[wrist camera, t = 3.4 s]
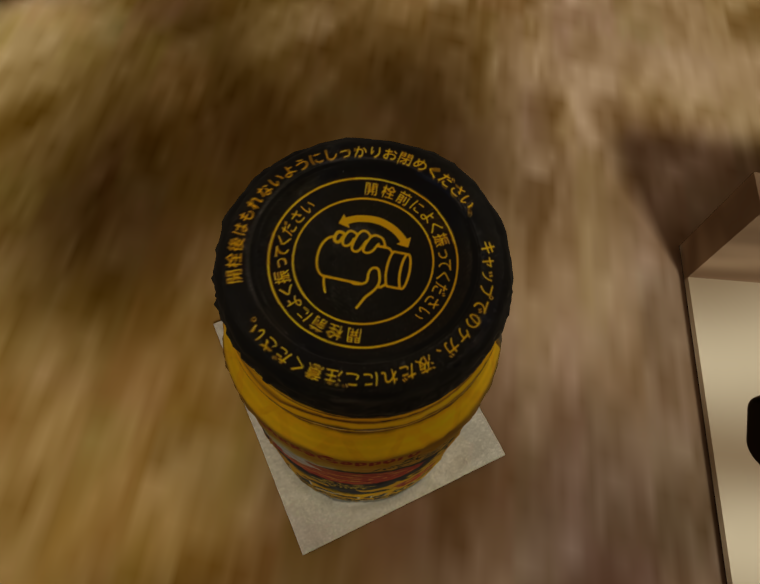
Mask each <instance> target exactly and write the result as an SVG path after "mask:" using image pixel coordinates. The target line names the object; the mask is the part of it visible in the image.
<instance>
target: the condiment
mask: <svg viewBox="0 0 760 584" xmlns="http://www.w3.org/2000/svg"><path fill="white" fill-rule="evenodd" d="M215 251H216V260H215V265H214V270H213V276H212V278H211V279H212V281H213V283H214V285H215V291H216V293H215V297H216V298H217V299H216V301H215V303H214V305H215V307H216V308H217V309H218V310H219V314H220V319H221V321H219V322H217V323H215V324H214V327H215V330H216V332H217V335H218V337H219V340H220V343H221V345H222V348H223V353H224V357H225V364H226V368H227V369H228V371H229V372H230V375H231V378H232V380H233V382H234V385H235V388H236V389H237V391H238V393H239V395H240V397H241V400H242V401H243V402H244V404H245V407H246V409H247V412H248V415H249V417H250V420H251V422H252V425H253V427H254V430H255V432H256V435H257V438H258V440H259V443H260V445H261V448H262V450H263V453H264V456H265V458H266V461H267V463H268V466H269V469H270V471H271V474H272V476H273V479H274V481H275V484H276V487H277V489H278V492H279V494H280V497H281V499H282V502H283V505H284V507H285V510H286V512H287V515H288V517H289V520H290V523H291V525H292V528H293V530H294V533H295V536H296V538H297V541H298V543H299V546H300V549H301V552H302V554H303V555H304V554H306V553H308V552H311V551H313V550H315V549H317V548H319V547H321V546H323V545H325V544H327V543H329V542H331V541H333V540H335V539H337V538H340V537H341V536H343V535H345V534H347V533H349V532H351V531H353V530H355V529H357V528H359V527H361V526H363V525H365V524H367V523H369V522H371V521H373V520H375V519H377V518H379V517H381V516H383V515H386V514H387V513H389V512H392V511H394V510H396V509H398V508H400V507H402V506H404V505H406V504H408V503H410V502H412V501H414V500H416V499H418V498H420V497H422V496H424V495H426V494H428V493H430V492H432V491H434V490H436V489H438V488H440V487H442V486H444V485H446V484H448V483H450V482H452V481H454V480H456V479H458V478H460V477H462V476H463V475H465V474H468V473H470V472H472V471H474V470H476V469H478V468H480V467H482V466H484V465H486V464H488V463H490V462H492V461H494V460H496V459H498V458H500V457H502V456H504V455H505V453H504V451H503V450H502V448H501V446H500V444H499V442H498V440H497V438H496V437H495V435H494V433H493V431H492V429H491V427H490V426H489V424H488V422H487V420H486V418H485V417H484V415H483V413H482V411H481V409H480V408H479V406H480V404H481V401H482V400H483V398H484V396H485V395H486V393H487V392H488V390H489V389H490V387H491V385H492V381H493V377H494V374H495V371H496V368H497V365H498V359H499V355H500V348H501V342H502V336H501V334H502V332H503V329H504V325H505V322H506V319H507V317H508V316H509V311H510V304H511V296H512V293H513V291H512V284H513V271H512V262H511V257H510V251H509V247H508V241H507V234H506V230H505V227H504V225H503V222H502V220H501V218H500V217H499V215H498V213H497V212H496V211H495V209H494V208H493V207H492V206H491V204H490V203H489V201H488V200H487V198H486V197H485V195H484V194H483V192H482V191H481V190H480V188H479V187H478V186H477V184H476V183H475V182H474V181H473V180H472V179H471V178H470V177H469V176H468V175H466V174H465V173H464V172H463V171H462V170H461V169H459V168H458V167H457V166H456V165H455V163H452V162H450V161H448V160H446V159H445V158H443V157H441V156H439V155H438V154H436V153H435V152H431V151H426V150H423V149H421V148H417V147H413V146H408V145H404V144H400V143H397V142H392V141H383V140H372V139H363V138H343V139H338V140H334V141H329V142H325V143H320V144H317V145H315V146H313V147H311V148H307V149H303V150H300V151H296V152H293V153H292V154H290V155H288V156H286V157H285V158H283V159H281V160H280V161H278V162H276V163H275V164H273V165H272V166H271V167H268V168H266V169H264V170H263V171H262V172H261V173H260V174H259V175H257V176H256V177H255V178H254V179H253V180H252V181H251V182H250V184H249V185H248V187H247V188H246V190H245V191H244V192H243V193H242V194H241V196H240V197H239V198H238V199H237V201H236V202H235V204H234V205H233V206H232V207H231V208H230V209H229V211H228V212H227V214H226V215H225V217H224V219H223V221H222V231H221V236H220V240H219V243H218V244H217V247H216V249H215Z"/></svg>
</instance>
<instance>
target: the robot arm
mask: <svg viewBox="0 0 760 584" xmlns="http://www.w3.org/2000/svg"><path fill="white" fill-rule="evenodd" d="M746 443H747V447H748V449H749V452H750V453H751V455H752V457H753V458H754V459H755V460H756V461H757V463H758V464H759V465H760V395H759V396H756V397H754V398H752V399H751V400H750V402H749V403H748V407H747V434H746Z"/></svg>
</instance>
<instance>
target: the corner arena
mask: <svg viewBox="0 0 760 584" xmlns="http://www.w3.org/2000/svg"><path fill="white" fill-rule="evenodd" d="M679 247H680V254H681V261H682V268H683V275H684V282H685V289H686V296H687V303H688V310H689V317H690V325H691V332H692V339H693V346H694V353H695V360H696V367H697V374H698V381H699V388H700V395H701V402H702V409H703V416H704V423H705V430H706V437H707V444H708V451H709V458H710V465H711V472H712V479H713V486H714V493H715V500H716V507H717V514H718V521H719V528H720V535H721V542H722V549H723V556H724V564H725V571H726V578H727V584H760V465H759V464H758V463H757V461H756V460H755V459H754V458H753V457H752V455H751V453H750V452H749V449H748V447H747V443H746V434H747V407H748V403H749V402H750V400H751V399H752V398H754V397H756V396H759V395H760V173H759V172H753V173H752V174H751V175H750V176H749V177H748V178H747V179H746V180H745V181H744V182H743V183H742V184H741V185H740V186H739V187H738V188H737V189H736V190H735V191H734V192H733V193H732V194H731V195H730V196H729V197H728V198H727V199H726V200H725V201H724V202H723V203H722V204H721V205H720V206H719V207H718V208H717V209H716V210H715V211H714V212H713V213H712V214H711V215H710V216H709V217H708V218H707V219H706V220H705V221H704V222H703V223H702V224H701V225H700V226H699V227H698V228H697V229H696V230H695V231H694V232H693V233H692V234H691V235H690V236H689V237H688V238H687V239H686V240H685V241H684V242H683V243H682V244H681V245H680V246H679Z"/></svg>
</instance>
